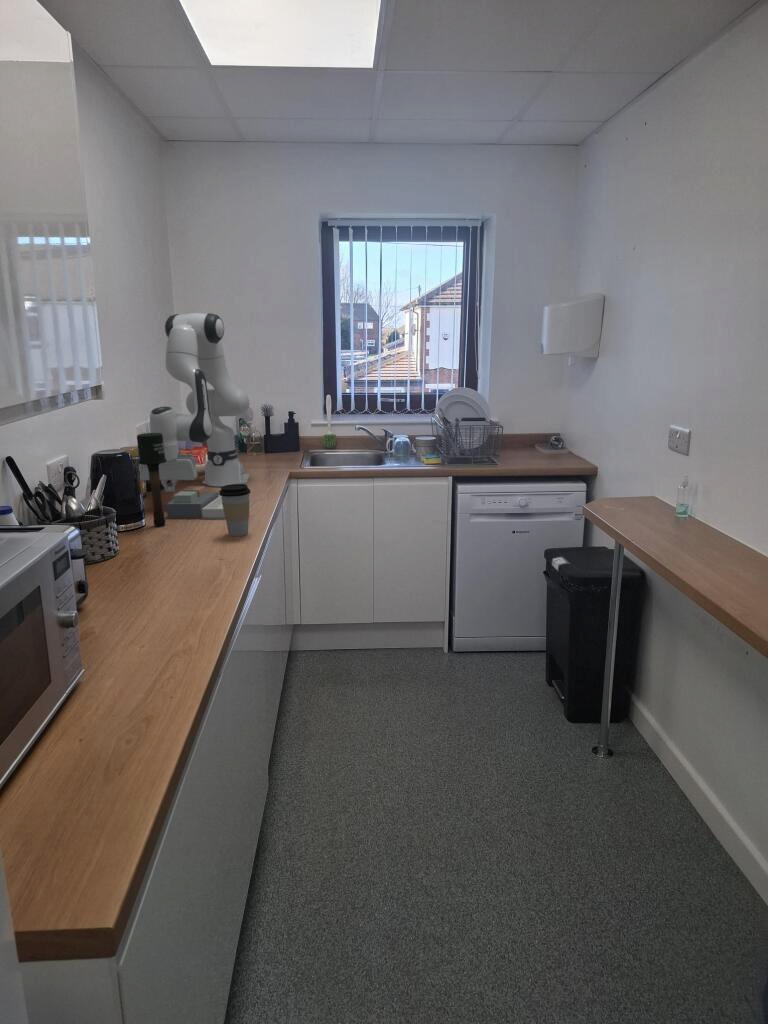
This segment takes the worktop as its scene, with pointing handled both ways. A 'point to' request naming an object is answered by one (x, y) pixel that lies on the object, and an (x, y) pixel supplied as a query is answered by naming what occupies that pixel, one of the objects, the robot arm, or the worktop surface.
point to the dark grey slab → (190, 506)
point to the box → (213, 510)
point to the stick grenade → (153, 468)
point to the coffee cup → (236, 508)
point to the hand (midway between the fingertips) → (170, 492)
